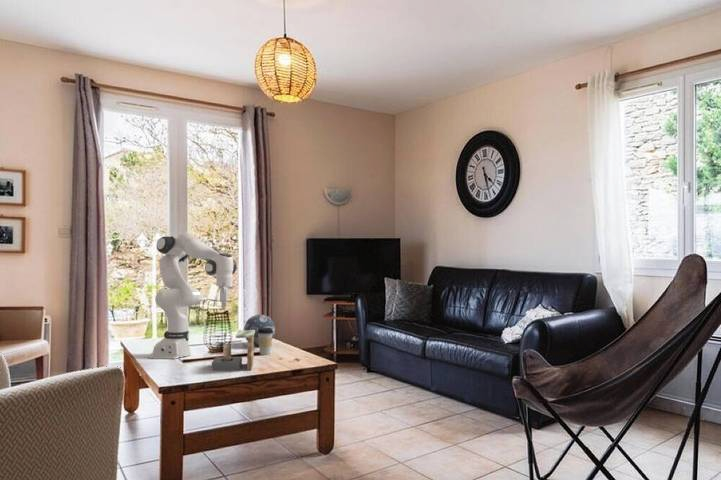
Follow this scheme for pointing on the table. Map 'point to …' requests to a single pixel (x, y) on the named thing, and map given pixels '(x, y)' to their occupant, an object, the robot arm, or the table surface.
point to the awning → (250, 349)
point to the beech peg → (227, 352)
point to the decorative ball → (259, 325)
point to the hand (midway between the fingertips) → (223, 307)
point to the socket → (227, 363)
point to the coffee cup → (265, 340)
